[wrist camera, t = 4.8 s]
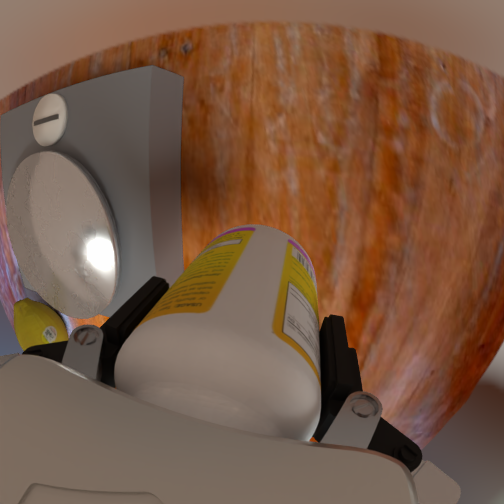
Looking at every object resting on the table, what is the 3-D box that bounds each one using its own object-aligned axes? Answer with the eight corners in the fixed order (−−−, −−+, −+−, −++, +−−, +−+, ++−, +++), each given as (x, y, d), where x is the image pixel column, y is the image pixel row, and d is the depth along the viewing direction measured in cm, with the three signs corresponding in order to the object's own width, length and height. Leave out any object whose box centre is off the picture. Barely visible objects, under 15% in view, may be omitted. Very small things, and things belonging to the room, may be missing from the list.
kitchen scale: (186, 300, 26) (160, 337, 21) (50, 269, 29) (20, 290, 24) (183, 77, 18) (146, 62, 13) (33, 111, 21) (-5, 116, 16)
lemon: (86, 351, 34) (56, 385, 27) (56, 341, 36) (27, 370, 29) (59, 287, 30) (19, 319, 23) (30, 283, 32) (-5, 309, 25)
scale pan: (135, 329, 22) (130, 336, 21) (32, 294, 24) (26, 298, 23) (113, 141, 16) (104, 142, 15) (6, 159, 18) (-1, 161, 17)
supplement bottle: (190, 299, 18) (75, 471, 6) (221, 202, 15) (21, 368, 3) (287, 339, 17) (253, 541, 6) (336, 250, 15) (380, 503, 3)
